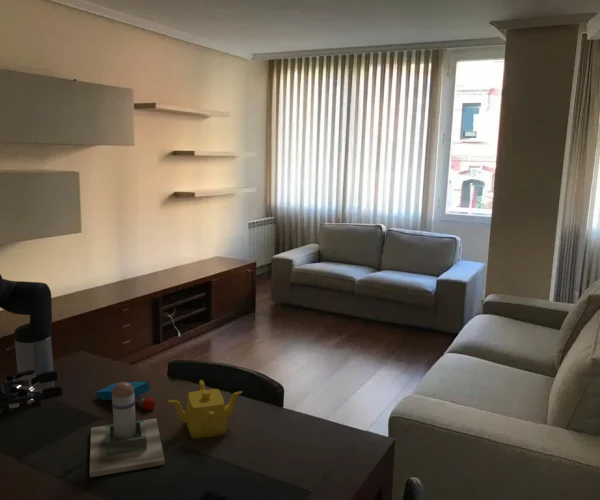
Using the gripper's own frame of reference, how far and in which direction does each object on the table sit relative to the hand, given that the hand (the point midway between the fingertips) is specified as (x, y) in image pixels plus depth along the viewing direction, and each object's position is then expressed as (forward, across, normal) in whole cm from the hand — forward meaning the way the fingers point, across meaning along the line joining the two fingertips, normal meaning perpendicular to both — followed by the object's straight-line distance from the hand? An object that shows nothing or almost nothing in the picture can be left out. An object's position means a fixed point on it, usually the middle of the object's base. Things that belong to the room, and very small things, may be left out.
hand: (59, 382), depth 123 cm
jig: (+13, -3, +19) cm, 23 cm away
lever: (+19, +21, +20) cm, 35 cm away
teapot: (+34, -2, +19) cm, 39 cm away
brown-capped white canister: (+13, -3, +18) cm, 22 cm away
